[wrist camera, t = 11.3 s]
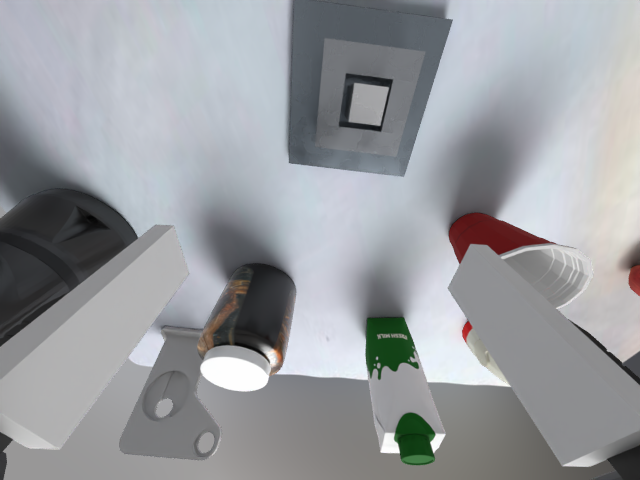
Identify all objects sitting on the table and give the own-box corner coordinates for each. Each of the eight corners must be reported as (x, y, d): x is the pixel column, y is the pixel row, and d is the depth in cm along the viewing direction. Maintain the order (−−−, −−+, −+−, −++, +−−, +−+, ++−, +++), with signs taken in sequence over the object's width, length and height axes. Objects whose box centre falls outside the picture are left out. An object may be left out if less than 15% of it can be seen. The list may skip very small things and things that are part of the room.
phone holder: (244, 334, 48) (205, 443, 33) (246, 360, 54) (214, 464, 39) (161, 325, 48) (83, 432, 33) (172, 352, 53) (109, 455, 38)
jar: (298, 267, 38) (282, 353, 25) (294, 313, 44) (281, 400, 31) (227, 259, 37) (175, 343, 25) (233, 306, 44) (195, 393, 31)
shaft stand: (290, 160, 28) (277, 182, 21) (296, 3, 21) (278, -44, 14) (400, 173, 29) (424, 199, 22) (445, 24, 21) (504, -12, 14)
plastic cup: (421, 213, 32) (464, 269, 22) (508, 182, 29) (604, 229, 19) (435, 268, 37) (475, 334, 27) (509, 246, 34) (585, 310, 24)
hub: (317, 137, 25) (314, 146, 21) (325, 50, 21) (324, 38, 17) (384, 145, 26) (396, 156, 21) (405, 60, 22) (425, 51, 17)
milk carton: (409, 313, 43) (460, 454, 26) (403, 342, 48) (443, 476, 31) (362, 314, 44) (383, 453, 27) (361, 342, 48) (378, 474, 32)
